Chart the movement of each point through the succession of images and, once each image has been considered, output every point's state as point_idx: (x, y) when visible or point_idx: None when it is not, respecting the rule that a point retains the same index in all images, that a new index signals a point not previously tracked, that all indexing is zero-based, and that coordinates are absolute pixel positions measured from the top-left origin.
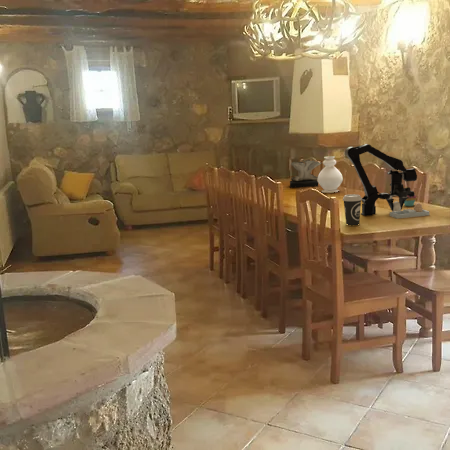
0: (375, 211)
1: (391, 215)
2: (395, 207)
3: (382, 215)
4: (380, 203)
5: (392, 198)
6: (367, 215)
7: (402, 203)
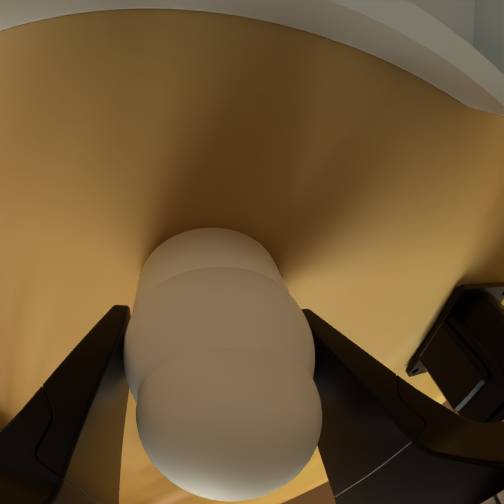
0: (455, 333)
1: (495, 63)
2: (301, 326)
3: (445, 240)
4: (138, 499)
5: (500, 499)
6: (501, 284)
7: (68, 410)
